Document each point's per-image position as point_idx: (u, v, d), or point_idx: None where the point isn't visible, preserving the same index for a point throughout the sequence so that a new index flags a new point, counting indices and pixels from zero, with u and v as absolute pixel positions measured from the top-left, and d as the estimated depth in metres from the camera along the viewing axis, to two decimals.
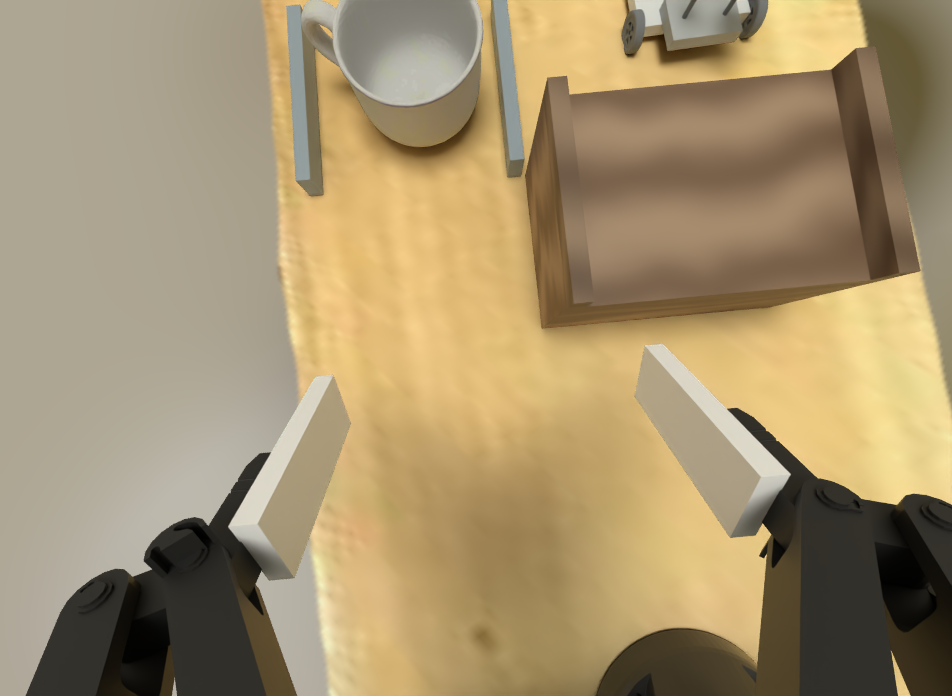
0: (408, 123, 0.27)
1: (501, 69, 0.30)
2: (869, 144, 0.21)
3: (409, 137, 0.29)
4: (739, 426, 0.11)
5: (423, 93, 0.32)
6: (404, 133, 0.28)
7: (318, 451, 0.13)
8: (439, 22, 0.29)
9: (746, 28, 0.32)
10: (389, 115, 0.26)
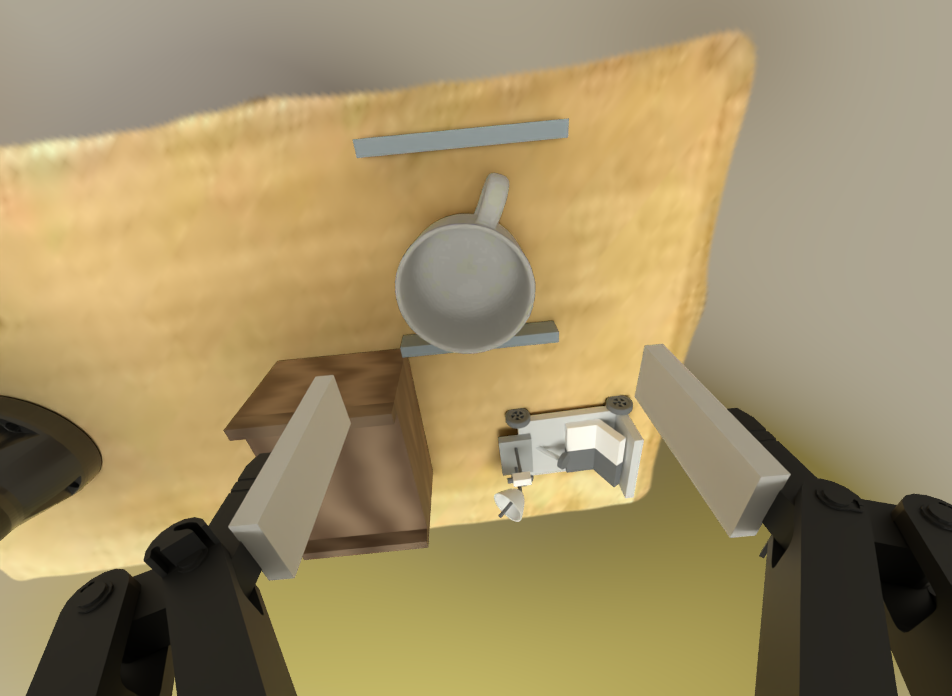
0: None
1: None
2: (373, 544, 0.39)
3: None
4: (739, 426, 0.11)
5: (473, 268, 0.33)
6: None
7: (318, 451, 0.13)
8: (516, 297, 0.32)
9: None
10: None
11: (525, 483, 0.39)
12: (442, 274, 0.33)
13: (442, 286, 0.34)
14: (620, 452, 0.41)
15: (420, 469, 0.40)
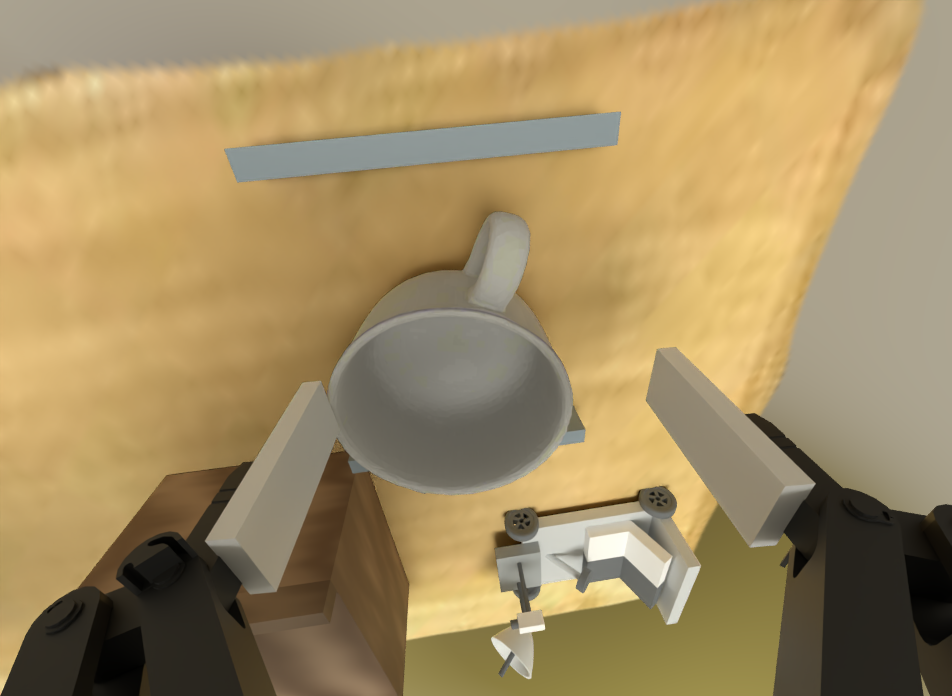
0: None
1: None
2: None
3: None
4: (759, 432, 0.10)
5: (462, 344, 0.22)
6: None
7: (303, 459, 0.12)
8: (531, 392, 0.20)
9: None
10: None
11: (536, 629, 0.28)
12: (415, 353, 0.22)
13: (415, 369, 0.22)
14: (663, 573, 0.30)
15: (387, 618, 0.28)
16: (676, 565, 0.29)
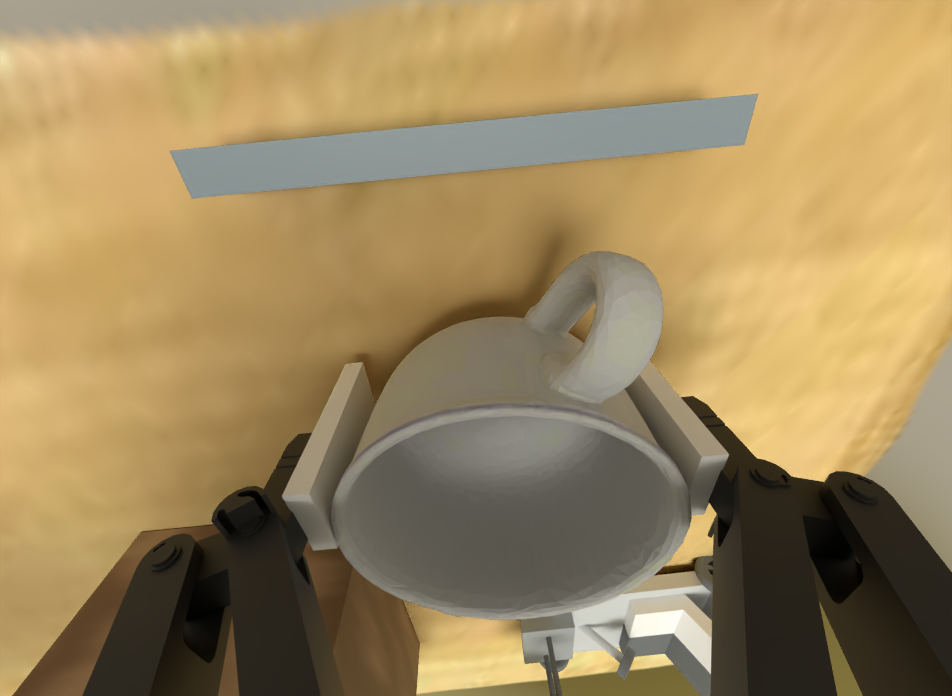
0: None
1: None
2: None
3: None
4: (690, 412, 0.11)
5: None
6: None
7: (353, 432, 0.13)
8: (600, 475, 0.15)
9: None
10: None
11: None
12: None
13: (447, 430, 0.17)
14: None
15: None
16: None
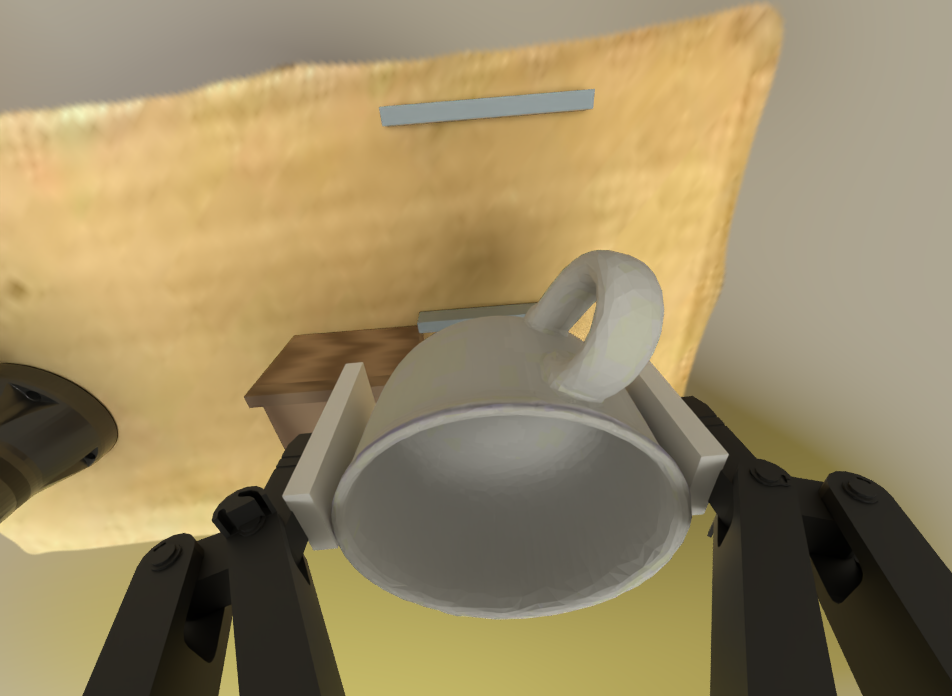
0: None
1: None
2: None
3: None
4: (689, 412, 0.11)
5: None
6: None
7: (353, 432, 0.13)
8: (601, 475, 0.15)
9: None
10: None
11: None
12: None
13: (447, 430, 0.17)
14: None
15: None
16: None
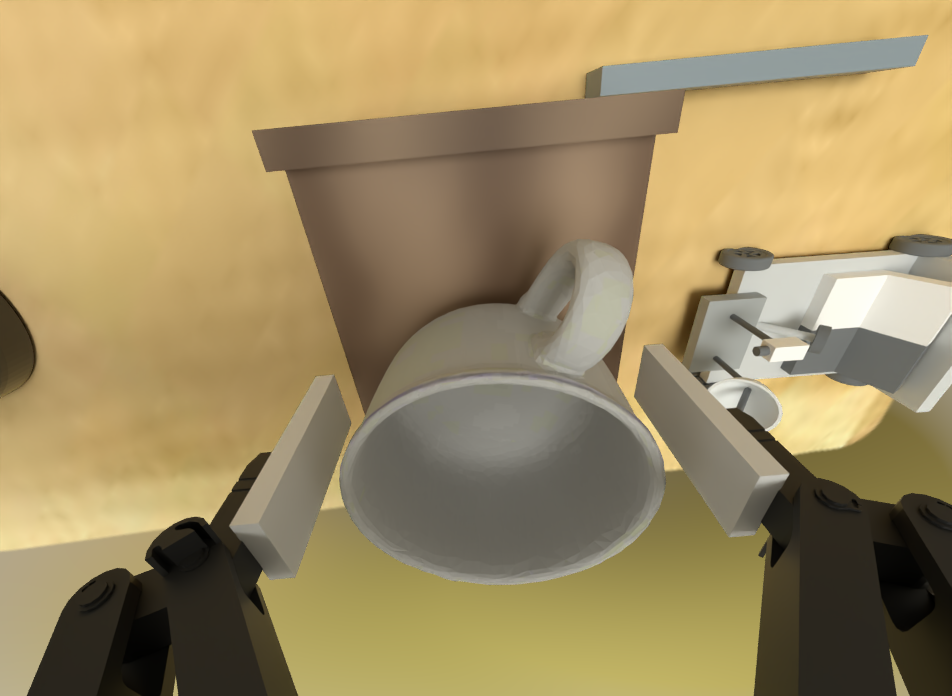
0: None
1: (768, 52, 0.17)
2: None
3: None
4: (738, 426, 0.11)
5: (505, 386, 0.18)
6: None
7: (319, 451, 0.13)
8: (589, 454, 0.16)
9: None
10: None
11: (793, 356, 0.21)
12: (447, 395, 0.18)
13: (447, 413, 0.19)
14: (947, 317, 0.22)
15: None
16: None
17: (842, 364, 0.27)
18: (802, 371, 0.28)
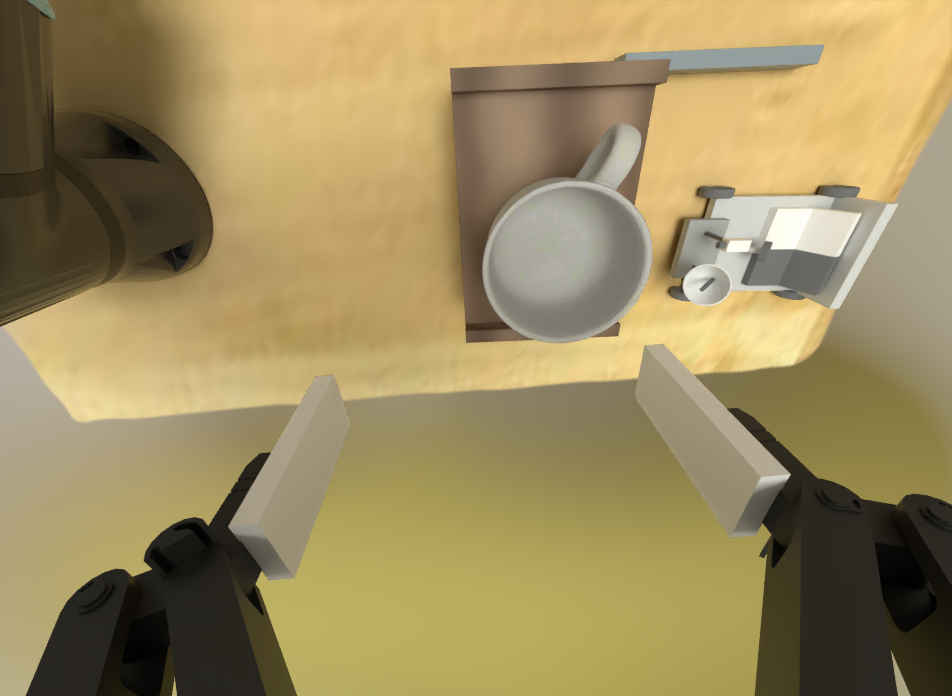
0: None
1: (727, 50, 0.28)
2: None
3: None
4: (739, 426, 0.11)
5: (556, 246, 0.29)
6: None
7: (318, 451, 0.13)
8: (608, 282, 0.27)
9: (676, 289, 0.41)
10: (490, 234, 0.23)
11: (741, 248, 0.32)
12: (520, 251, 0.29)
13: (517, 265, 0.29)
14: (847, 235, 0.33)
15: None
16: (864, 221, 0.33)
17: (783, 279, 0.38)
18: (755, 283, 0.39)
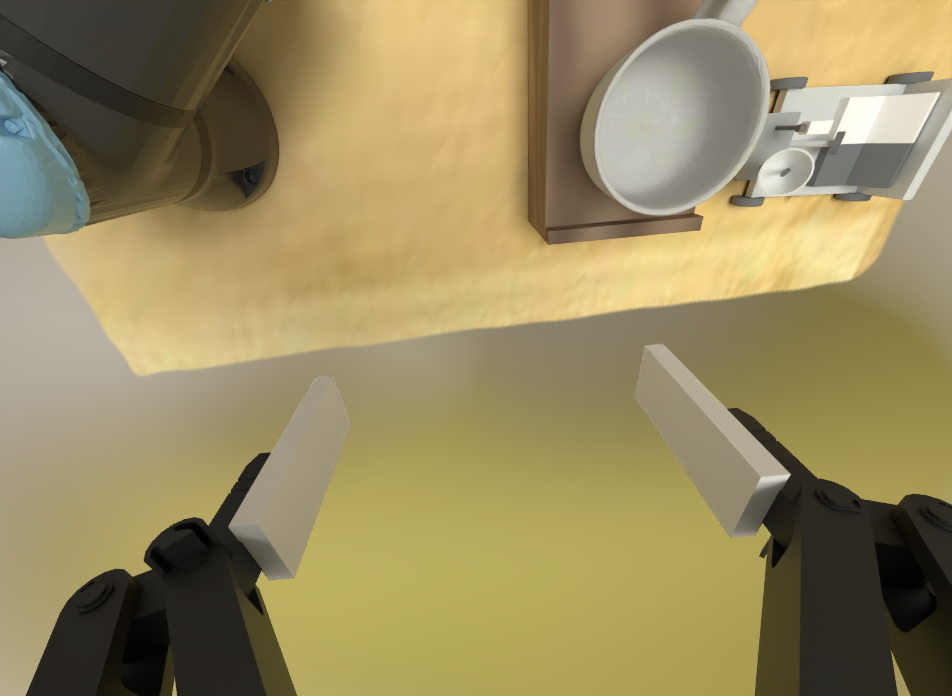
0: (590, 121, 0.24)
1: None
2: (635, 222, 0.32)
3: (585, 117, 0.26)
4: (739, 426, 0.11)
5: (645, 131, 0.29)
6: (587, 112, 0.25)
7: (318, 451, 0.13)
8: (703, 158, 0.27)
9: (739, 197, 0.40)
10: (599, 97, 0.23)
11: (822, 130, 0.31)
12: (608, 138, 0.29)
13: (605, 154, 0.29)
14: (924, 118, 0.33)
15: None
16: (943, 101, 0.32)
17: (851, 177, 0.38)
18: (822, 183, 0.38)
